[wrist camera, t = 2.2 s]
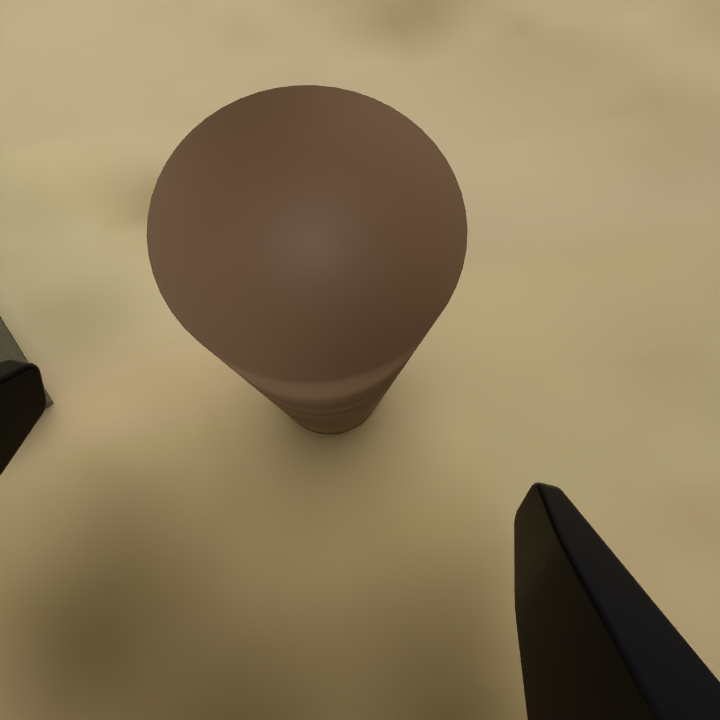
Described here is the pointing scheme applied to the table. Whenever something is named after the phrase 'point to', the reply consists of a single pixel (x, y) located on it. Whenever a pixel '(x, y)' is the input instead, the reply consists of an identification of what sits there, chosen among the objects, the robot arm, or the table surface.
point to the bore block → (12, 351)
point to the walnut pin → (308, 245)
